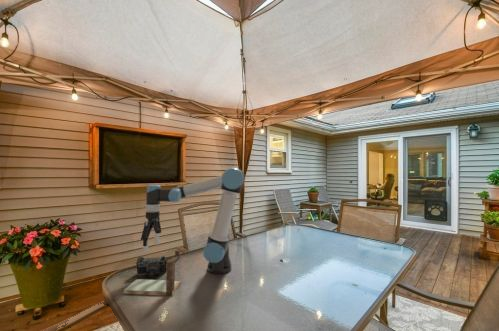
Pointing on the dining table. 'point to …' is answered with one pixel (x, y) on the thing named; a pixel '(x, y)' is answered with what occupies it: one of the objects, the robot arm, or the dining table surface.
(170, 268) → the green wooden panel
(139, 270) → the camera
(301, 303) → the dining table surface
